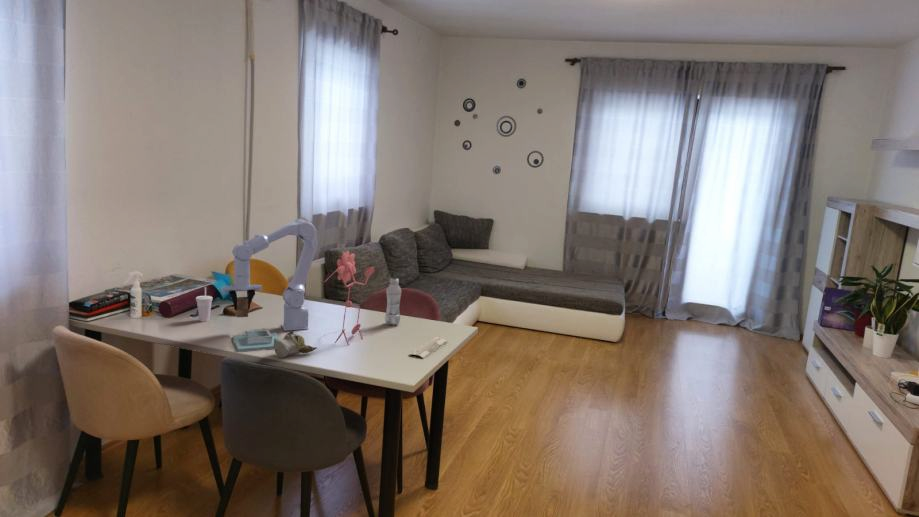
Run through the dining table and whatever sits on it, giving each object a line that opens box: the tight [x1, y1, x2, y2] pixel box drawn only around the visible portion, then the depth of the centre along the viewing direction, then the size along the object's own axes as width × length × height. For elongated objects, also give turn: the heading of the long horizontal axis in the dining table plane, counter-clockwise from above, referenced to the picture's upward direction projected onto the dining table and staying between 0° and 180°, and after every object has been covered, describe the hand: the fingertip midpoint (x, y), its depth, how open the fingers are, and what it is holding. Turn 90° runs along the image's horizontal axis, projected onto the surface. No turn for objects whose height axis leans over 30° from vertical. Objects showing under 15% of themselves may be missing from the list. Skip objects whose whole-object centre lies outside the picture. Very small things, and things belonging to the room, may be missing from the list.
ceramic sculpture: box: [273, 331, 318, 358], centre depth 224 cm, size 11×9×15 cm
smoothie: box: [195, 286, 214, 323], centre depth 255 cm, size 6×6×14 cm
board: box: [232, 332, 281, 353], centre depth 234 cm, size 16×16×1 cm
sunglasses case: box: [222, 300, 264, 318], centre depth 274 cm, size 18×7×7 cm
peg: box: [235, 296, 249, 318], centre depth 243 cm, size 4×4×7 cm
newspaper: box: [408, 336, 447, 360], centre depth 241 cm, size 24×7×2 cm, turn 160°
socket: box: [243, 329, 272, 345], centre depth 234 cm, size 9×9×2 cm
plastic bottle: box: [384, 277, 402, 326], centre depth 267 cm, size 6×7×20 cm
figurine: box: [319, 250, 375, 346], centre depth 242 cm, size 15×26×35 cm, turn 153°
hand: (241, 309), depth 243 cm, fingers closed on peg, 4 cm apart
